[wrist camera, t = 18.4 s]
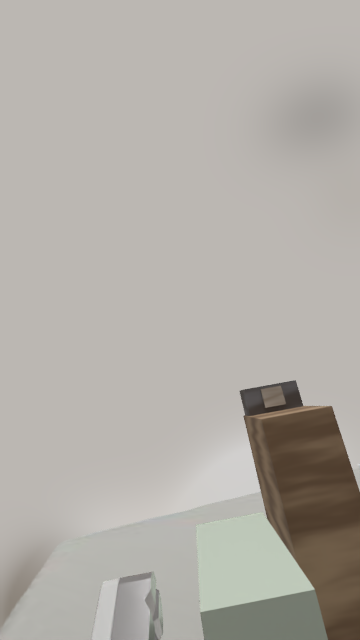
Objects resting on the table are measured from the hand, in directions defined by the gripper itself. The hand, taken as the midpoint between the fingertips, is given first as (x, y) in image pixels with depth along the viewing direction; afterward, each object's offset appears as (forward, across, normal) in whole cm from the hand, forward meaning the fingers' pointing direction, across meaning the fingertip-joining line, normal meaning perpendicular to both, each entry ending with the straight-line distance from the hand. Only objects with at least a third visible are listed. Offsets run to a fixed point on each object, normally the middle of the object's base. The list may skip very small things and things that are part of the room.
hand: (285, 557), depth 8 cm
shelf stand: (+16, -11, +37) cm, 41 cm away
